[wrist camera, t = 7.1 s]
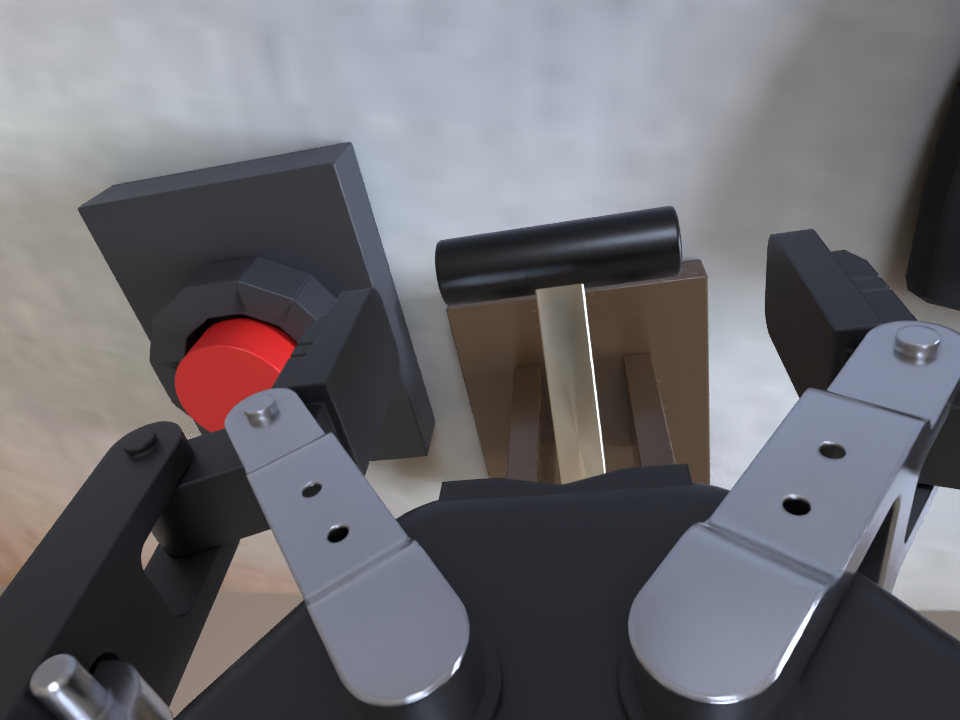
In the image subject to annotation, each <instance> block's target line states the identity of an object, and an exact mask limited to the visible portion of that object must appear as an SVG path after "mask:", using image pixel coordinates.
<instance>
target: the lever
mask: <svg viewBox="0 0 960 720" xmlns="http://www.w3.org/2000/svg"><path fill="white" fill-rule="evenodd" d="M435 267H436V275H437V281H438V286H439V289H440V293H441V295H442V298H443V300H444V302H445V303H446V304H447V305H450V306H454V305H462V304H469V303H477V302H485V301H492V300H500V299H507V298H515V297H523V296H530V295H536V302H537V310H538V317H539V324H540V332H541V339H542V346H543V354H544V361H545V368H546V375H547V383H548V390H549V397H550V405H551V412H552V419H553V427H554V434H555V441H556V449H557V456H558V463H559V471H560V478H561V484H567V483H571V482H575V481H578V480H582V479H586V478H590V477H593V476H597V475H601V474H605V473H607V472H606V464H605V455H604V447H603V439H602V430H601V422H600V413H599V405H598V397H597V388H596V380H595V371H594V363H593V354H592V346H591V338H590V329H589V321H588V312H587V304H586V296H585V288H591V287H599V286H607V285H614V284H622V283H629V282H637V281H645V280H652V279H660V278H668V277H675V276H678V275H680V273H681V269H682V243H681V234H680V227H679V221H678V217H677V213H676V211H675V209H674V207H672V206H666V207H659V208H653V209H646V210H639V211H633V212H626V213H619V214H613V215H606V216H599V217H593V218H586V219H579V220H573V221H566V222H559V223H553V224H546V225H539V226H533V227H526V228H519V229H513V230H506V231H499V232H493V233H486V234H479V235H473V236H466V237H459V238H453V239H446V240H441V241H439V242H438V243H437V246H436V251H435Z"/></svg>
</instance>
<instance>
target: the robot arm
mask: <svg viewBox="0 0 960 720" xmlns="http://www.w3.org/2000/svg"><path fill="white" fill-rule="evenodd" d="M765 317H766V324H767V329H768V332H769V335H770V338H771V340H772V342H773V344H774V346H775V348H776V350H777V352H778V354H779V356H780V358H781V361H782V363H783V365H784V367H785V369H786V371H787V373H788V375H789V377H790V379H791V381H792V384H793V386H794V388H795V390H796V392H797V394H798V396H799V398H800V399H799V400H798V401H797V403H796V404H795V405H794V407H793V408H792V409H791V411H790V412H789V413H788V415H787V416H786V417H785V419H784V420H783V421H782V423H781V424H780V425H779V427H778V428H777V429H776V431H775V432H774V433H773V435H772V436H771V437H770V439H769V440H768V441H767V443H766V444H765V445H764V447H763V448H762V449H761V451H760V452H759V453H758V455H757V456H756V457H755V459H754V460H753V461H752V463H751V464H750V465H749V467H748V468H747V469H746V471H745V472H744V473H743V475H742V476H741V477H740V479H739V480H738V481H737V483H736V484H735V485H734V487H733V488H732V489H731V491H730V490H727V489H723V488H720V487H717V486H712V485H708V484H703V483H696V482H692V480H691V476H690V471H689V467H688V464H676V465H662V466H649V467H635V468H624V469H620V470H616V471H612V472H608V473H605V474H601V475H597V476H593V477H590V478H586V479H582V480H578V481H575V482H571V483H567V484H559V485H557V484H547V483H539V482H531V481H523V480H515V479H507V478H488V479H474V480H461V481H448V482H442V486H441V491H440V496H439V500H437V501H433V502H430V503H428V504H425V505H422V506H420V507H417V508H415V509H413V510H411V511H409V512H407V513H405V514H404V515H402V516H400V517H399V518H397V519H395V518H394V517H393V515H392V514H391V513H390V511H389V510H388V508H387V507H386V506H385V504H384V503H383V502H382V500H381V499H380V497H379V496H378V495H377V493H376V492H375V491H374V489H373V488H372V486H371V485H370V484H369V482H368V481H367V480H366V478H365V477H364V476H365V473H366V470H367V467H368V464H369V462H370V459H371V456H372V453H373V450H374V447H375V444H376V441H377V438H378V435H379V432H380V429H381V426H382V423H383V420H384V417H385V414H386V411H387V408H388V405H389V402H390V399H391V396H392V393H393V390H394V387H395V384H396V381H397V378H398V375H399V368H400V361H399V352H398V348H397V344H396V341H395V338H394V335H393V332H392V329H391V326H390V322H389V319H388V316H387V313H386V310H385V307H384V304H383V300H382V297H381V295H380V293H379V291H378V290H377V289H376V288H375V287H371V288H364V289H357V290H349V291H342V292H341V293H340V294H339V296H338V297H337V299H336V301H335V303H334V305H333V306H332V308H331V310H330V312H329V314H328V315H326V316H321V317H320V318H319V319H318V320H316V321H315V322H314V323H313V324H312V325H310V326H309V327H308V328H307V329H306V330H305V331H304V333H303V335H302V337H301V338H300V340H299V342H298V343H297V345H298V346H297V347H295V349H294V350H293V352H292V354H291V355H290V356H291V358H289V359H288V360H287V362H286V364H285V366H284V367H283V369H282V371H281V372H280V374H279V376H278V378H277V379H276V381H275V383H274V384H273V386H272V388H271V389H267V390H263V391H260V392H257V393H255V394H253V395H251V396H249V397H247V398H245V399H244V400H242V401H241V402H239V403H238V404H237V405H235V406H234V407H233V408H232V409H231V411H230V412H229V413H228V415H227V416H226V419H225V422H224V426H225V428H224V429H221V430H218V431H215V432H211V433H208V434H205V435H202V436H198V437H195V438H192V439H189V440H187V438H186V437H185V435H184V433H183V432H182V430H181V428H180V427H179V425H178V424H176V423H173V422H166V421H164V422H156V423H152V424H148V425H145V426H143V427H140V428H138V429H136V430H134V431H132V432H130V433H129V434H127V435H125V436H124V437H122V438H121V439H120V440H119V441H117V442H116V443H115V444H114V445H113V446H112V447H111V448H110V449H109V451H108V452H107V453H106V455H105V456H104V457H103V459H102V460H101V461H100V463H99V464H98V465H97V467H96V468H95V469H94V471H93V472H92V473H91V475H90V476H89V477H88V479H87V480H86V482H85V483H84V484H83V486H82V487H81V488H80V490H79V491H78V492H77V494H76V495H75V496H74V498H73V499H72V500H71V502H70V503H69V505H68V506H67V507H66V509H65V510H64V511H63V513H62V514H61V515H60V517H59V518H58V519H57V521H56V522H55V523H54V525H53V526H52V527H51V529H50V530H49V532H48V533H47V534H46V536H45V537H44V538H43V540H42V541H41V542H40V544H39V545H38V546H37V548H36V549H35V550H34V552H33V553H32V554H31V556H30V557H29V559H28V560H27V561H26V563H25V564H24V565H23V567H22V568H21V569H20V571H19V572H18V573H17V575H16V576H15V577H14V579H13V580H12V582H11V583H10V584H9V586H8V587H7V588H6V590H5V591H4V592H3V594H2V595H1V597H0V720H960V641H959V640H957V639H956V638H954V637H953V636H951V635H950V634H949V633H947V632H945V631H944V630H943V629H941V628H940V627H938V626H937V625H935V624H934V623H932V622H931V621H930V620H928V619H927V618H925V617H924V616H922V615H921V614H920V613H918V612H917V611H915V610H914V609H912V608H911V607H909V606H908V605H907V604H905V603H904V602H902V601H901V600H899V599H898V598H896V597H895V596H893V595H892V594H891V593H892V590H893V587H894V584H895V581H896V578H897V575H898V573H899V570H900V567H901V565H902V563H903V561H904V559H905V556H906V554H907V552H908V550H909V548H910V546H911V544H912V542H913V540H914V538H915V536H916V534H917V532H918V530H919V528H920V525H921V523H922V521H923V519H924V517H925V515H926V513H927V511H928V509H929V507H930V505H931V503H932V501H933V499H934V497H935V494H936V492H937V490H938V486H941V487H947V488H954V489H960V333H958V332H956V331H955V330H952V329H950V328H948V327H945V326H942V325H939V324H934V323H930V322H923V321H917V319H916V318H915V317H914V316H913V315H912V313H911V312H910V311H909V310H908V309H907V307H906V306H905V305H904V304H903V303H902V302H901V300H900V299H899V298H898V297H897V296H896V294H895V293H894V292H893V291H892V290H889V286H888V285H887V284H886V283H885V281H884V280H883V279H882V278H879V274H878V273H877V272H876V271H875V270H874V268H873V267H872V266H871V265H870V264H869V262H868V261H866V260H864V259H862V258H860V257H858V256H856V255H854V254H852V253H850V252H848V251H846V250H841V251H833V252H831V251H830V250H829V249H828V247H827V246H826V245H825V244H824V242H823V241H822V240H821V238H820V237H819V236H818V234H817V233H816V232H815V231H814V230H813V229H808V230H801V231H793V232H786V233H778V234H771V235H770V237H769V240H768V247H767V268H766V291H765ZM269 529H271V530H272V532H273V535H274V537H275V539H276V541H277V543H278V545H279V547H280V549H281V552H282V554H283V556H284V558H285V560H286V562H287V564H288V566H289V569H290V571H291V573H292V575H293V577H294V579H295V581H296V584H297V586H298V588H299V590H300V592H301V594H302V596H303V598H304V600H303V601H302V602H301V603H300V604H299V605H298V606H297V607H295V608H294V609H293V610H292V611H291V612H290V613H289V614H288V615H287V616H286V617H284V618H283V619H282V620H281V621H280V622H279V623H278V624H277V625H276V626H274V627H273V628H272V629H271V630H270V631H269V632H268V633H267V634H266V635H265V636H264V637H263V638H261V639H260V640H259V641H258V642H257V643H256V644H255V645H254V646H252V647H251V648H250V649H249V650H248V651H247V652H246V653H245V654H244V655H242V656H241V657H240V658H239V659H238V660H237V661H236V662H235V663H234V664H233V665H232V666H230V667H229V668H228V669H227V670H226V671H225V672H224V673H223V674H221V675H220V676H219V677H218V678H217V679H216V680H215V681H214V682H213V683H212V684H210V685H209V686H208V687H207V688H206V689H205V690H204V691H203V692H202V693H200V694H199V695H198V696H197V697H196V698H195V699H194V700H193V701H192V702H191V703H189V704H188V705H187V706H186V707H185V708H184V709H183V710H182V711H181V712H180V713H179V714H178V715H177V716H176V717H175V718H173V715H172V712H171V710H170V709H169V706H170V703H171V701H172V699H173V696H174V694H175V692H176V690H177V687H178V685H179V683H180V680H181V678H182V676H183V673H184V671H185V669H186V666H187V664H188V662H189V659H190V657H191V655H192V652H193V650H194V648H195V645H196V643H197V641H198V638H199V636H200V633H201V631H202V629H203V627H204V624H205V622H206V619H207V617H208V615H209V612H210V610H211V608H212V605H213V603H214V601H215V598H216V596H217V594H218V591H219V589H220V587H221V584H222V582H223V580H224V577H225V575H226V573H227V570H228V568H229V566H230V563H231V561H232V559H233V556H234V554H235V552H236V549H237V547H238V545H239V541H240V539H242V538H245V537H248V536H251V535H254V534H257V533H260V532H263V531H266V530H269ZM150 532H152V533H153V535H154V536H155V538H156V539H157V541H158V542H159V544H158V546H157V548H156V550H155V552H154V554H153V555H152V557H151V559H150V561H149V563H148V564H147V566H146V568H145V570H144V571H143V568H142V564H141V552H142V548H143V545H144V543H145V541H146V539H147V537H148V535H149V534H150Z"/></svg>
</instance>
